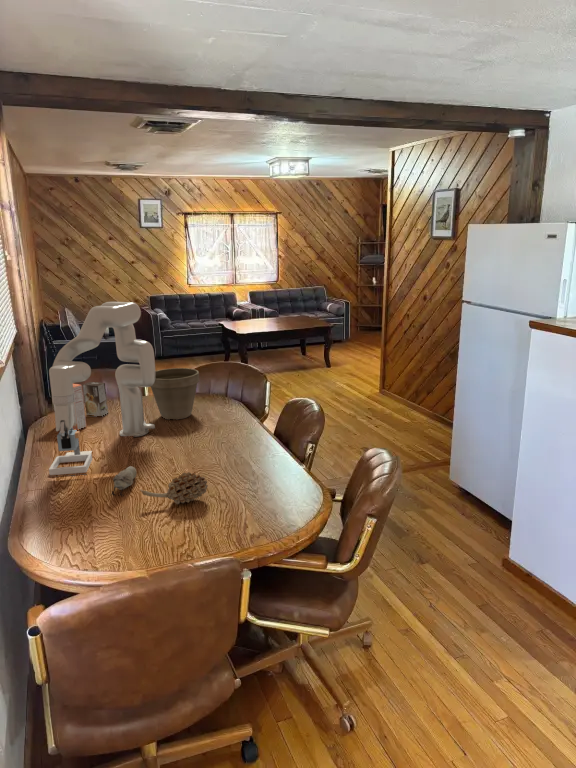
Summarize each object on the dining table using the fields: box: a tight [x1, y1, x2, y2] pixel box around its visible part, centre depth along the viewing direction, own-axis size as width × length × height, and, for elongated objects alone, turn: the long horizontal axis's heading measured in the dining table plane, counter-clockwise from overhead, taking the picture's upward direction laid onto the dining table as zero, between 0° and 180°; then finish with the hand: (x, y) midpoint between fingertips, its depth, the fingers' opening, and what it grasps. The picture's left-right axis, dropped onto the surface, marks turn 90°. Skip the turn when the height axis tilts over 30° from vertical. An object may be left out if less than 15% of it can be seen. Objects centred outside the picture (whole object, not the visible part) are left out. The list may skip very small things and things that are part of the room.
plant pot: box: [150, 367, 200, 420], centre depth 276 cm, size 25×25×22 cm
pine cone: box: [139, 471, 209, 505], centre depth 184 cm, size 22×10×10 cm, turn 108°
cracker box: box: [53, 383, 87, 431], centre depth 261 cm, size 14×6×21 cm, turn 62°
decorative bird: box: [110, 465, 138, 498], centre depth 197 cm, size 5×16×7 cm, turn 174°
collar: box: [56, 430, 81, 452], centre depth 211 cm, size 6×7×6 cm
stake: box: [64, 437, 93, 456], centre depth 224 cm, size 10×9×8 cm
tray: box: [48, 453, 93, 477], centre depth 214 cm, size 13×13×4 cm
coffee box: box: [82, 381, 109, 417], centre depth 280 cm, size 9×6×16 cm
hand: (68, 444), depth 211 cm, fingers closed on collar, 6 cm apart
